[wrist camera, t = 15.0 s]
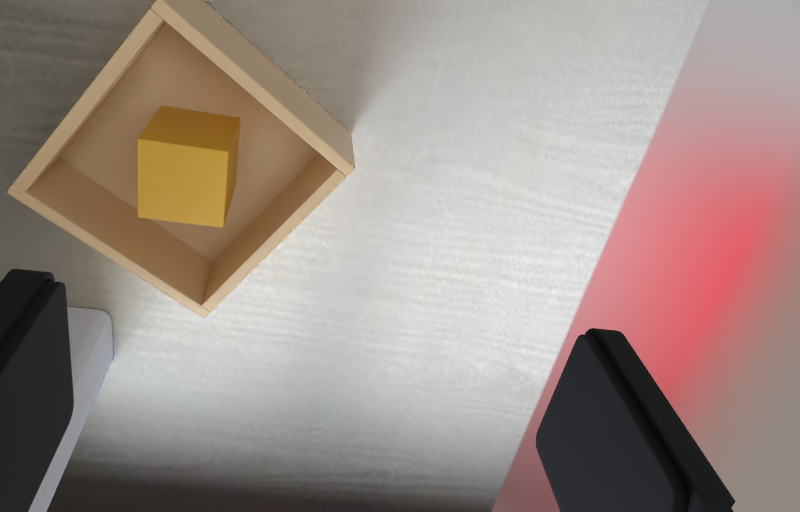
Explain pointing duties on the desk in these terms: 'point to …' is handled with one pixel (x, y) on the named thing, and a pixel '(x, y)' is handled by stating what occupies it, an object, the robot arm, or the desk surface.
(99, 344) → the white triangular prism tub
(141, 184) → the mustard box
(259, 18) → the desk surface
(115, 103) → the sand bin
